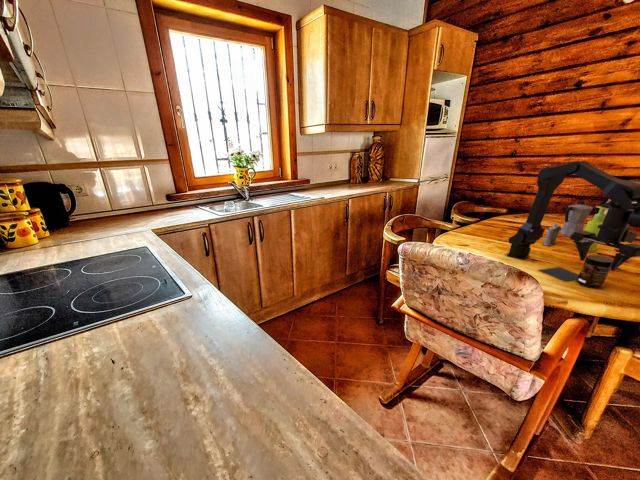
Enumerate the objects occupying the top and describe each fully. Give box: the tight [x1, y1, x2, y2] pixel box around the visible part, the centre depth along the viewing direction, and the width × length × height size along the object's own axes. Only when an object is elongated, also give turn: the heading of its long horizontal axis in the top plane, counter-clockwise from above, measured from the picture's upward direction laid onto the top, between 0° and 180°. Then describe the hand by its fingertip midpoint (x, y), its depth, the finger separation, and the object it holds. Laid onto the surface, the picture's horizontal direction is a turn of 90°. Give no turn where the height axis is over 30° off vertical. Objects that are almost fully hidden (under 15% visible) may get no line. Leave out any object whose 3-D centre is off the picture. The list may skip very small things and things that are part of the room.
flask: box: [542, 222, 562, 247], centre depth 137 cm, size 9×3×11 cm, turn 121°
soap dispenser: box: [583, 205, 609, 252], centre depth 128 cm, size 6×7×20 cm
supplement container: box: [576, 254, 614, 289], centre depth 100 cm, size 7×7×10 cm
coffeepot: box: [558, 200, 594, 237], centre depth 147 cm, size 15×9×18 cm, turn 103°
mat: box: [538, 267, 579, 282], centre depth 110 cm, size 10×10×1 cm
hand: (596, 265), depth 99 cm, fingers open, 9 cm apart
